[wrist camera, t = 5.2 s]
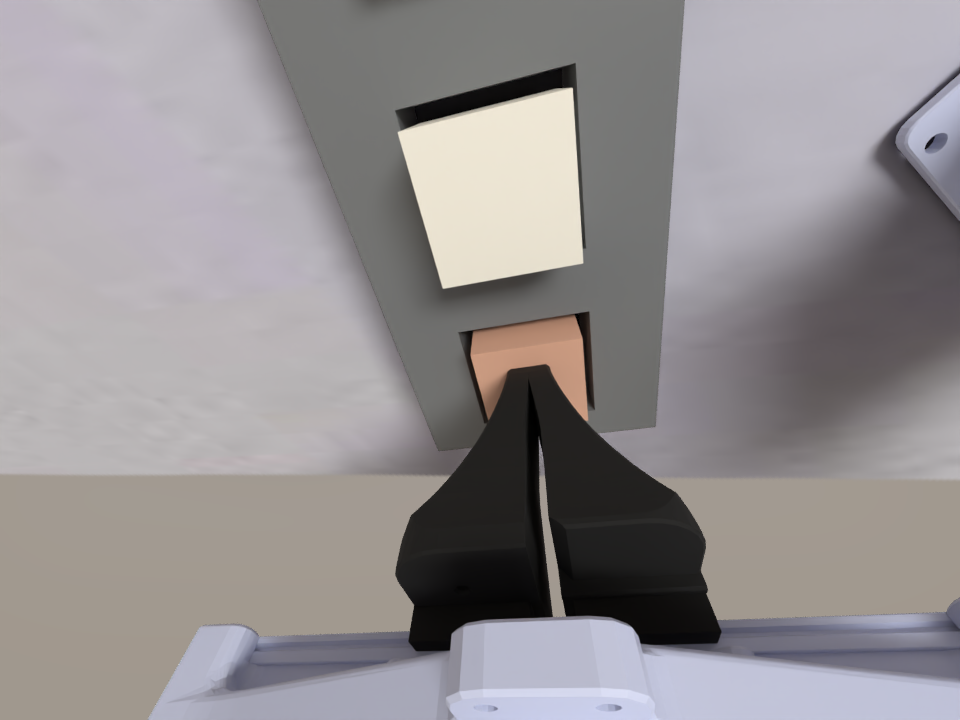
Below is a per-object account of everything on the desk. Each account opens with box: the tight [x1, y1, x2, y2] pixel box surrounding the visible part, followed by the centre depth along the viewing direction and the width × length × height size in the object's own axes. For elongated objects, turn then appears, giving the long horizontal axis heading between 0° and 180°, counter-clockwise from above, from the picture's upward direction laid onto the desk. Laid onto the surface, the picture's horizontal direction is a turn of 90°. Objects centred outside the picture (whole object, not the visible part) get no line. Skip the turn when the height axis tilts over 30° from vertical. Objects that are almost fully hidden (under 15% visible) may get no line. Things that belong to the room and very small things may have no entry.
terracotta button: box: [471, 314, 588, 421], centre depth 14 cm, size 4×4×3 cm
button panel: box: [257, 0, 685, 451], centre depth 11 cm, size 20×9×2 cm, turn 12°
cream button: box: [398, 88, 583, 289], centre depth 10 cm, size 4×4×3 cm
